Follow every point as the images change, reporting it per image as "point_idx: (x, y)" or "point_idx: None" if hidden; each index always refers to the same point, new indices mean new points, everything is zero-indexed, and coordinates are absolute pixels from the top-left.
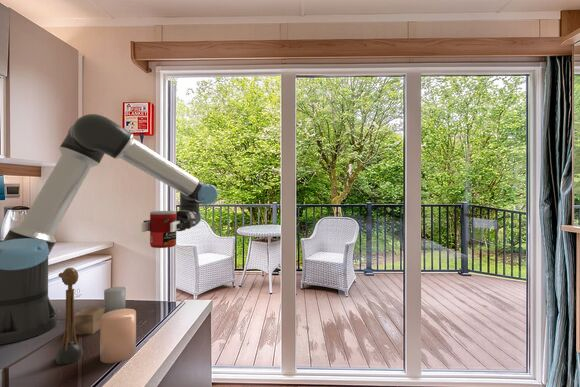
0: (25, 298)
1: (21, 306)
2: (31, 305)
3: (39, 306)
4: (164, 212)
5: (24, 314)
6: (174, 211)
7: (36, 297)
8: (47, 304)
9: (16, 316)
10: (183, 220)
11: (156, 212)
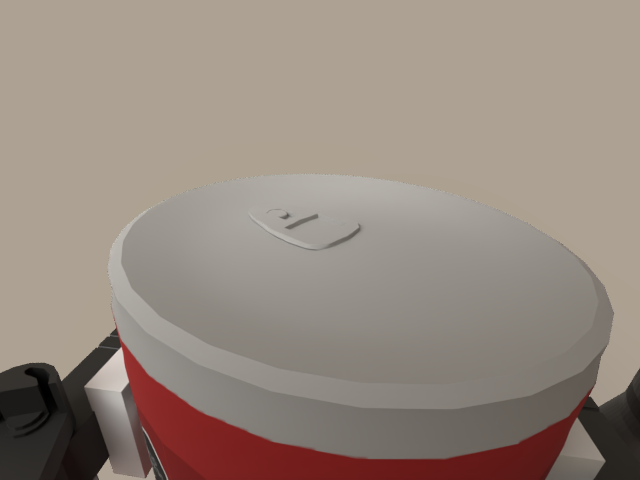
0: (632, 382)
1: (624, 392)
2: (621, 407)
3: (618, 427)
4: (294, 175)
5: (606, 405)
6: (137, 263)
7: (634, 404)
8: (637, 460)
9: (611, 399)
10: (16, 387)
11: (379, 179)
